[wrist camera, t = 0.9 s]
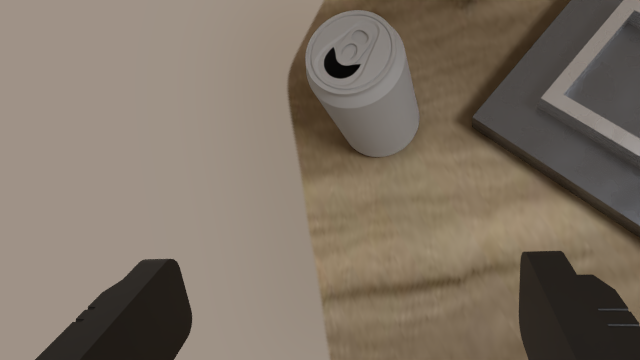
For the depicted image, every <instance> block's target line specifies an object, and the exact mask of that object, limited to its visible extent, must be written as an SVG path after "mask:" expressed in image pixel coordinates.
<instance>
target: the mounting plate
mask: <svg viewBox="0 0 640 360" xmlns="http://www.w3.org/2000/svg"><path fill="white" fill-rule="evenodd" d="M472 127H473V128H475V129H476V130H478V131H480V132H481V133H483V134H484V135H486V136H487V137H489V138H490V139H492V140H493V141H495V142H496V143H498V144H499V145H501V146H502V147H504V148H505V149H507V150H508V151H510V152H511V153H513V154H514V155H516V156H517V157H519V158H520V159H522V160H523V161H525V162H526V163H528V164H530V165H531V166H533V167H534V168H536V169H537V170H539V171H540V172H542V173H543V174H545V175H546V176H548V177H549V178H551V179H552V180H554V181H555V182H557V183H558V184H560V185H561V186H563V187H564V188H566V189H567V190H569V191H570V192H572V193H573V194H575V195H576V196H578V197H579V198H581V199H583V200H584V201H586V202H587V203H589V204H590V205H592V206H593V207H595V208H596V209H598V210H599V211H601V212H602V213H604V214H605V215H607V216H608V217H610V218H611V219H613V220H614V221H616V222H617V223H619V224H620V225H622V226H623V227H625V228H626V229H628V230H629V231H631V232H632V233H634V234H636V235H637V236H639V237H640V0H571V1H570V2H569V3H568V4H567V6H566V7H565V8H564V9H563V10H562V11H561V13H560V14H559V15H558V16H557V17H556V19H555V20H554V21H553V22H552V23H551V25H550V26H549V27H548V28H547V29H546V30H545V32H544V33H543V34H542V35H541V36H540V38H539V39H538V40H537V41H536V42H535V43H534V45H533V46H532V47H531V48H530V49H529V51H528V52H527V53H526V54H525V55H524V56H523V58H522V59H521V60H520V61H519V62H518V64H517V65H516V66H515V67H514V68H513V69H512V71H511V72H510V73H509V74H508V75H507V77H506V78H505V79H504V80H503V81H502V82H501V84H500V85H499V86H498V87H497V88H496V90H495V91H494V92H493V93H492V94H491V95H490V97H489V98H488V99H487V100H486V101H485V103H484V104H483V105H482V106H481V107H480V108H479V110H478V111H477V112H476V113H475V114H474V116H473V117H472Z"/></svg>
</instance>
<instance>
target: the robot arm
mask: <svg viewBox="0 0 640 360" xmlns="http://www.w3.org/2000/svg"><path fill="white" fill-rule="evenodd" d="M191 325H192V312H191V308H190V304H189V300H188V297H187V293H186V289H185V285H184V282H183V278H182V274H181V271H180V267H179V265H178V263H177V262H176V261H175V260H174V259H148V260H142V261H141V262H139V263H138V265H136V266H135V267H134V268H133V270H132V271H131V272H130V273H129V274H128V275H127V276H126V277H125V278H124V279H123V280H121V281H120V282H118V283H117V284H115V285H114V286H112V287H110V288H109V289H107V290H106V291H104V292H102V293H101V294H100V295H99V297H97V299H95V300H94V301H93V302H92V303H91V304H90V305H89V306H88V310H84V311H83V312H82V313H81V314H80V315H79V316H78V318H76V322H72V323H71V324H70V326H69V327H67V328H66V329H65V330H64V332H62V334H60V335H59V336H58V337H57V338H56V340H54V342H52V343H51V344H50V345H49V346H48V347H47V349H46V350H45V351H43V352H42V353H41V354H40V355H39V356H38V357H37V358H36V359H35V360H174V359H175V357H176V355H177V354H178V352H179V350H180V349H181V347H182V346H183V344H184V342H185V341H186V339H187V338H188V335H189V333H190V329H191ZM519 325H520V332H521V337H522V341H523V344H524V347H525V350H526V353H527V356H528V359H529V360H640V326H639V323H638V321H637V320H636V318H635V317H634V316H633V314H632V313H631V312H629V311H628V307H627V306H626V304H625V303H624V302H623V300H622V299H621V297H620V296H619V295H618V293H617V292H616V290H615V289H613V288H612V287H610V286H609V285H607V284H606V283H604V282H603V281H601V280H600V279H598V278H597V277H596V276H594V275H577V274H576V272H575V271H574V269H573V268H572V266H571V264H570V263H569V261H568V259H567V258H566V256H565V255H564V253H563V252H562V251H538V252H523V253H522V256H521V264H520V292H519Z"/></svg>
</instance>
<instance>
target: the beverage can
mask: <svg viewBox="0 0 640 360" xmlns="http://www.w3.org/2000/svg"><path fill="white" fill-rule="evenodd" d="M305 60H306V75H307V79H308V82H309V85H310V87H311V89H312V91H313V92H314V94H315V95H316V96H317V98H318V99H319V101H320V102H321V104H322V105H323V107H324V108H325V109H326V111H327V112H328V114H329V115H330V117H331V118H332V120H333V121H334V122H335V124H336V125H337V127H338V128H339V130H340V131H341V132H342V134H343V135H344V137H345V138H346V140H347V141H348V142H349V144H350V145H351V146H352V147H353V148H354V149H355V150H357V151H358V152H360V153H362V154H364V155H367V156H372V157H384V156H389V155H392V154H395V153H397V152H399V151H400V150H402V149H403V148H405V147H406V146H407V145H408V144H409V143H410V142H411V140H412V139H413V137H414V136H415V134H416V132H417V129H418V126H419V110H418V105H417V101H416V97H415V92H414V88H413V83H412V79H411V75H410V70H409V66H408V61H407V57H406V53H405V48H404V45H403V42H402V39H401V37H400V36H399V34H398V33H397V31H396V30H395V29H394V28H393V27H392V26H390V25H389V24H388V23H387V21H386V20H384V19H383V18H382V17H380V16H379V15H377V14H375V13H372V12H368V11H362V10H353V11H347V12H343V13H340V14H338V15H335V16H333V17H332V18H330V19H328V20H327V21H326V22H324V23H323V24H322V25H321V26H320V27H319V28H318V29H317V30H316V31H315V33H314V34H313V36H312V37H311V39H310V41H309V43H308V46H307V50H306V57H305Z"/></svg>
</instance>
